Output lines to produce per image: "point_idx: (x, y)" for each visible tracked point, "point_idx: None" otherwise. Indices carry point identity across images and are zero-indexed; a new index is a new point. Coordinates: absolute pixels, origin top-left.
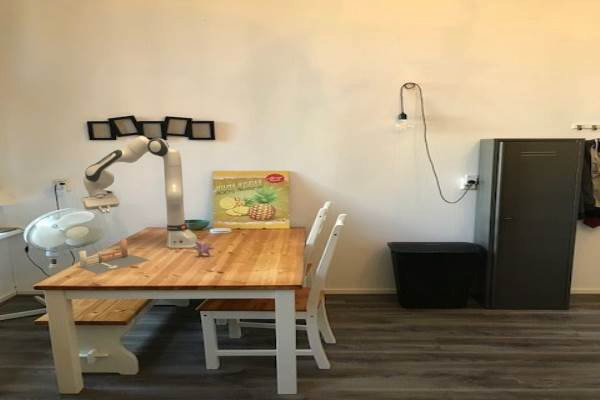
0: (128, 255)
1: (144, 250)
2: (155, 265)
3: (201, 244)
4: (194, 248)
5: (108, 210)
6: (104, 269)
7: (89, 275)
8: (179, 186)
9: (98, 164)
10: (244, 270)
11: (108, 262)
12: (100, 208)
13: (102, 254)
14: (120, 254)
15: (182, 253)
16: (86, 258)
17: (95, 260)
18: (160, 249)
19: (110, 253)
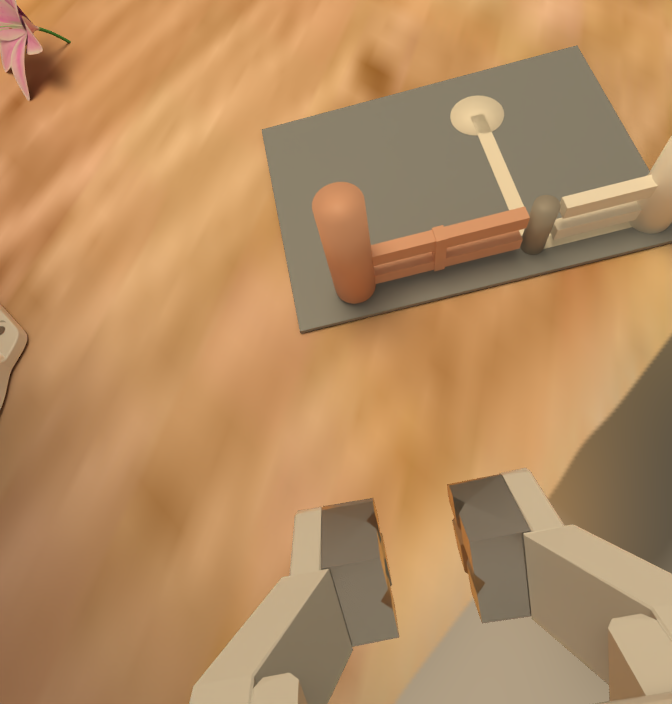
0: (323, 311)
1: (172, 403)
2: (280, 48)
3: None
4: (34, 38)
5: (335, 518)
6: (529, 95)
7: (615, 56)
8: None
9: None
10: None
11: None
12: (643, 576)
13: (527, 214)
14: (384, 271)
15: (62, 170)
16: (651, 169)
17: (575, 217)
18: (82, 350)
19: (464, 225)
